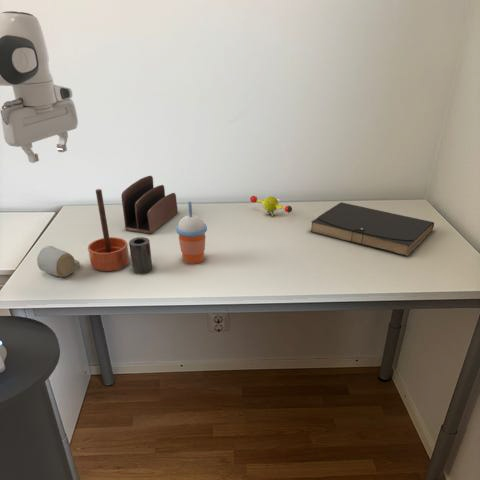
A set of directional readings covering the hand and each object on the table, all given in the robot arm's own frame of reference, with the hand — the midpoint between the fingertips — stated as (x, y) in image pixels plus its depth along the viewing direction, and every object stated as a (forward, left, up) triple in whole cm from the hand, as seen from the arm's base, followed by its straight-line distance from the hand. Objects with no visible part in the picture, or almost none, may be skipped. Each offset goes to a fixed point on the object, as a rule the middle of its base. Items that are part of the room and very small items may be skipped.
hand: (48, 156), depth 124 cm
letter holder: (+46, +6, -35) cm, 58 cm away
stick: (+14, -1, -34) cm, 37 cm away
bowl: (+14, -1, -35) cm, 38 cm away
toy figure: (+69, -29, -35) cm, 83 cm away
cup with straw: (+27, -22, -35) cm, 50 cm away
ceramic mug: (+4, +9, -35) cm, 37 cm away
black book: (+70, -65, -35) cm, 102 cm away
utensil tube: (+15, -12, -35) cm, 40 cm away
